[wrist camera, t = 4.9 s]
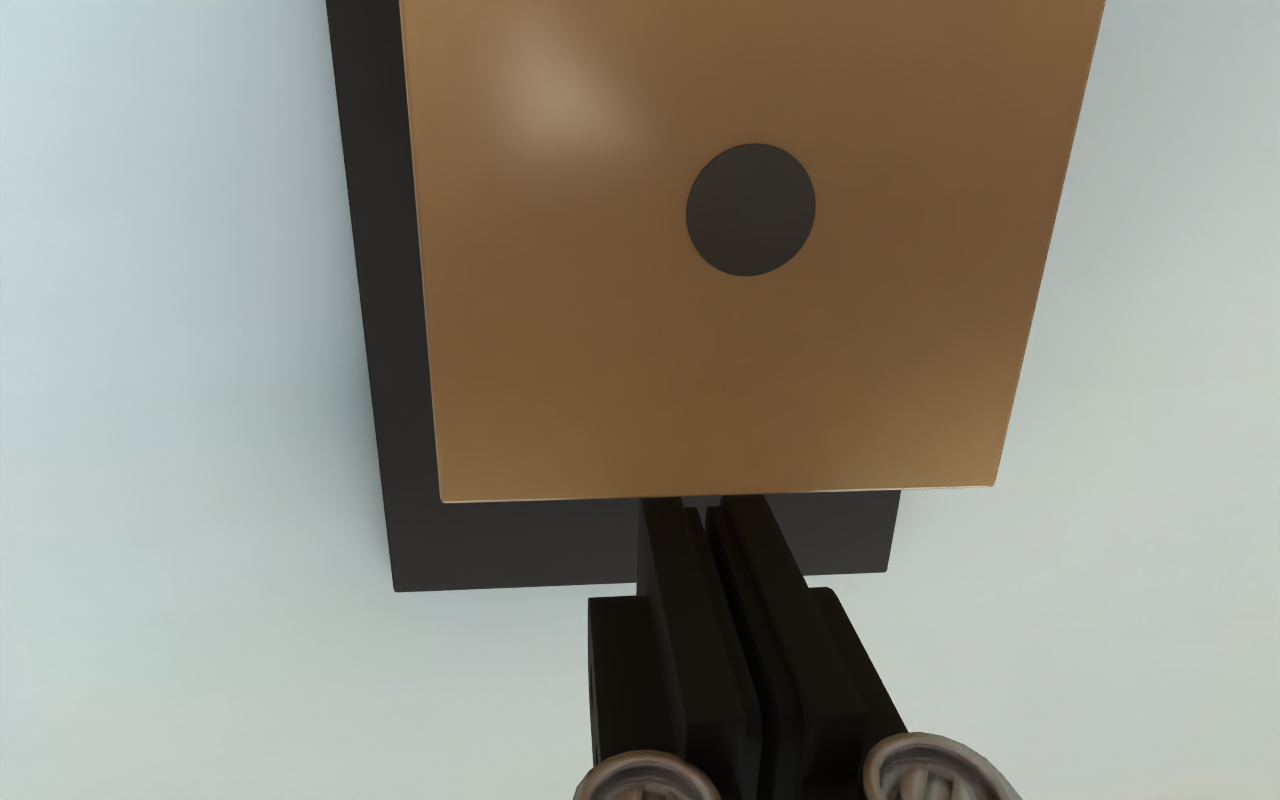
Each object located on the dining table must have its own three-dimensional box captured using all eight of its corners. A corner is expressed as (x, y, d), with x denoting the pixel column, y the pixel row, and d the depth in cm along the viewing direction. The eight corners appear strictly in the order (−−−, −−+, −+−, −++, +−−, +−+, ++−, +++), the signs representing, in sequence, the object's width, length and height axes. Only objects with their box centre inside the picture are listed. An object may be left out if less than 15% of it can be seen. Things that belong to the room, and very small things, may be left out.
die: (459, -85, 11) (374, -210, 6) (873, -66, 12) (1148, -162, 6) (481, 324, 14) (437, 509, 8) (824, 322, 14) (996, 492, 9)
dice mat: (215, -1052, 8) (194, -1116, 8) (1129, -901, 9) (1159, -952, 9) (397, 578, 16) (393, 594, 16) (878, 559, 17) (887, 573, 17)
